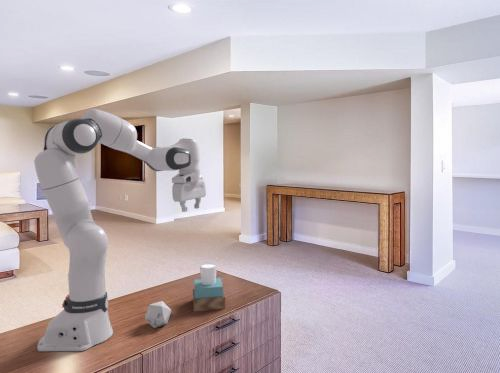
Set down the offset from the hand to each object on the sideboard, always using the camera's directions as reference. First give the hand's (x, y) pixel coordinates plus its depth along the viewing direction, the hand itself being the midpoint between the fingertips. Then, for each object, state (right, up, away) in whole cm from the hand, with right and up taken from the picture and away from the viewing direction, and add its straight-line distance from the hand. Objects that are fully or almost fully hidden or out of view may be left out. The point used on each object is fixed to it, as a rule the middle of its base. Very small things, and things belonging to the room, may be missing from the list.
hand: (190, 209), depth 154 cm
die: (-7, -40, -25) cm, 47 cm away
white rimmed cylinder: (+8, -29, -8) cm, 31 cm away
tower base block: (+8, -38, -7) cm, 40 cm away
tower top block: (+8, -33, -8) cm, 35 cm away
